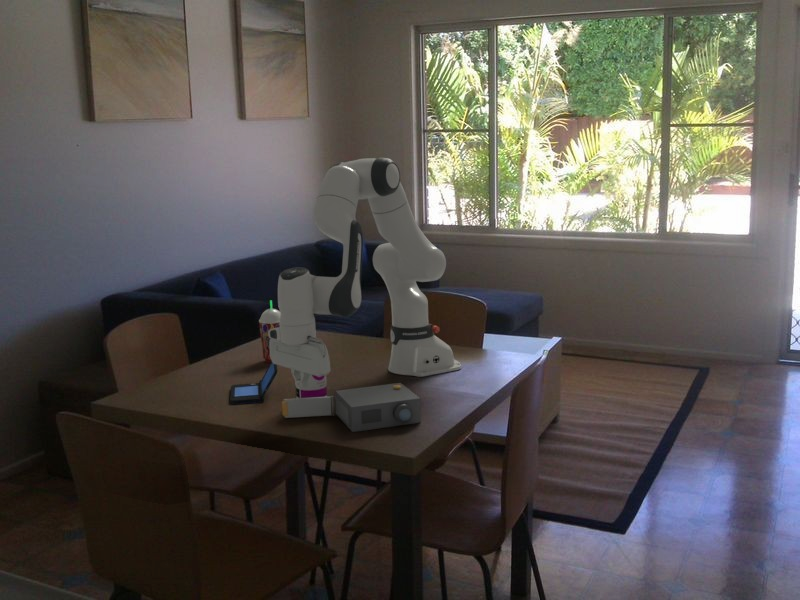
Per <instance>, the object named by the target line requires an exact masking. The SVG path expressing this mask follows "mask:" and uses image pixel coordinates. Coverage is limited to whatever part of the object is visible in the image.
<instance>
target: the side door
mask: <svg viewBox="0 0 800 600" xmlns="http://www.w3.org/2000/svg"><path fill="white" fill-rule="evenodd" d="M281 405H282V406H281V407H282V416H283V417H284V418H285V419H288V418H304V417H305V418H309V417H321V416H333V417H334V416H335V415H336V414H335V413H336V404H335V395H330V396H329V395H327V397H309V398H284V399H283V400H282V401H281Z"/></svg>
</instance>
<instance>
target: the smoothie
mask: <svg viewBox="0 0 800 600" xmlns="http://www.w3.org/2000/svg"><path fill="white" fill-rule="evenodd" d="M269 306H270V308H267V309H265V310H264V311H263V312H262V314H260V315H261V316H260V318H259V320H258V323H259V325H258V326H259V332H260V340H261V341H260V342H261V348H262V349H261V351H262V356H263V357H262V358H263V359H264V360H265V363H267V364H271V362H272V360H271V358H270V348H269V342H270V339H271V338H269V336H268V330H270V329H273V328H277V327H280V323H279V321H280V310H278V309H277V308H273V300H271V299H270V300H269Z"/></svg>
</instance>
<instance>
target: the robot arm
mask: <svg viewBox="0 0 800 600" xmlns="http://www.w3.org/2000/svg"><path fill="white" fill-rule="evenodd" d="M366 199H367V201H368V204H369V208H370V211H371V213H372V218H373V220H374V222H375V225H376V228H377V231H378V233H379V235H380V236H381V237H382V238H383V239H384V240H385V241H387V242H386V243H381V244H379V245H378V246H377V247H376V248H375V249H374V252H373V255H372V266H373V268H374V270H375V271H376V272H377V273H378V274H379V275H380V277H381V278H382V280H383V281H384V284H385V286H386V288H387V291H388V294H389V297H390V298H389V299H390V308H391V323H392V324H391V325H390V342H391V352H390V359H389V364H388V368H387V370H388V372H389V373H392V374H396V375H403V376H415V377H428V376H433V375H438V374H443V373H448V372H453V371H458V370H459V371H460V370H461V369H462V364H461V362H460V361H459V360H456V359H455V358H454V352H453V350H452V348H451V346H450V345H449V344H447V343H446V342H445V341H444V340H442V339H440V338H439V337H437V336H436V335H435V334H439V332H440V331H441V330H440V327H439V326H437V325H433V324H432V323H429V301H428V298H427V296H426V295H425V294H424V293H423V292H422V291H421V289H420V287H419V286H418V284H417V282H420V283H425V282H434V281H438V280H439V279H441V278H442V276H443V275H444V273H445V271H446V267H447V260H446V256H445V254H444V252H443V251H442V250H441V249H440V248H438V247H436V245H434V244H433V243H432V242H431V241H430V240H429V238H427V237H426V235H425V234H424V233H423V231H422V229H421V228H420V227H419V225H418V223H417V222H416V220H415V219H416V218H415V217H414V214H413V211H412V209H411V206H410V202H409V200H408V196H407V194H406V191H405V189H404V187H403V185H402V182H401V172H400V168H399V167H398V165H397V164H396V162H395V161H394V160H393V159H391V158H387V157H377V158H375V157H373V158H372V157H371V158H367V157H366V158H359V159H354V160H350V161H349V160H348V161H346V162H339V163H335V164H333V165H332V166H330V167H329V169H328V170H327V171H326V173H325V175H324V177H323V180H322V181H321V184H320V186H319V189H318V192H317V195H316V200H315V203H314V206H313V209H312V211H313V213H312V219H313V222H314V225H315V227H316V228H317V229H318V230H319V231H320V232H321V233H322V234H323V235H325V236H326V237H328V238H329V239H332V240H335V241H336V242H339V243H340V244H342V246H343V247H342V248H343V252H342V265H341V273H340V274H339V275H338V276H320V275H318V276H317V275H314V274H311V273H310V270H309V269H307V268H305V267H299V266H295V267H292V268H287V269H284V270H283V271H282V272H280V273H279V276H278V281H277V305H278V309H279V310H278V311H280V321H279V323H280V327H277V328H273V329H270V330H268V336H269V338H271V339H270V342H269V348H270V358H271V360H272V362H273V364H276V365H277V366H279V367H283V368H287V369H290V373H291V375H292V377H293V379H294V384H295V385H294V386H295V387H296V386H299V387H302V388H305V387H307V386H308V381H307V380H308V378H309V376H310V374H311V375H315V376H319V377H320V376H324V375H326V376H327V375H329V374H330V372H331V362H330V361H331V360H330V355H329V351H328V348H327V345H326V343H324V341H323V339H322V338H319V337H317V332H316V318H315V315H314V314H316V315H327V316H328V315H331V316H335V317H340V318H349V317H351V316H352V315H353V314H355V313H356V312H357V311H358V309H360V307H361V305H362V300H363V299H362V298H363V297H362V295H363V294H362V292H363V291H362V267H363V266H362V265H363V253H364V252H363V251H364V234H363V233H364V232H363V228H362V225H361V224H360V222H358V221H357V219H356V215H357V214H356V213H357V210H358V209H357V208H358V203H359V200H366ZM301 375H302V377H301Z"/></svg>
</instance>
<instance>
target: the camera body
mask: <svg viewBox="0 0 800 600" xmlns="http://www.w3.org/2000/svg"><path fill="white" fill-rule="evenodd" d="M334 392H335V393H334V394H335V395H334V396H335V413H336V414H335V415H336V416H337V417H338V418H339V419H340V420H341V422H342V423H344V425H345V426H346V427H347V428H348V429H349V430H350V431H351V432H352V433H355V432H362V431H368V430H369V431H370V430H376V429H384V428H391V427H398V426H407V425H411V424H412V425H413V424H420V423H421V422H422V417H421V416H422V415H421V414H422V413H421V397H419V395H417V394H415V393H414V392H413V391H411V389H409V388H408V387H407V386H405V385H404V384H402V383H401V382H398V383H396V382H395V383H388V384H381V385H380V384H379V385H374V386H363V387H357V388H356V387H355V388H347V389H340V390H339V389H338V390H335V391H334Z"/></svg>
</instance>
